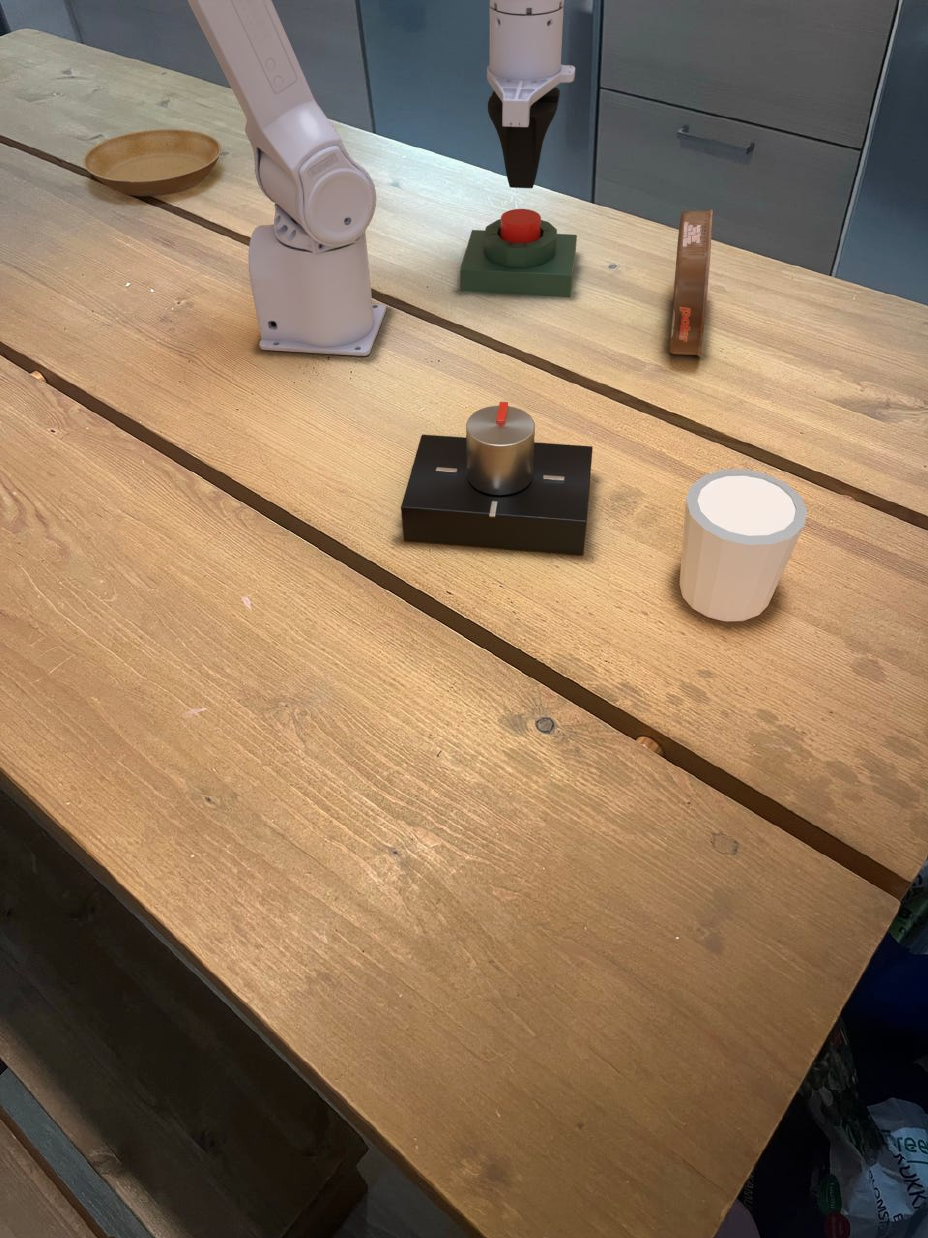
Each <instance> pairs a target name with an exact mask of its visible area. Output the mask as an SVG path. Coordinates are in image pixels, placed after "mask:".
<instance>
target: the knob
mask: <svg viewBox="0 0 928 1238" xmlns="http://www.w3.org/2000/svg"><path fill="white" fill-rule="evenodd" d="M498 403H499V404H498V405H491V406H487V407H483V408H480V409H478V410H477V411H475V412H473V413H472V414H471V415H469V417H468V419H467V420H466V424H465V437H466V452H467V478H468V480H469V482H470V484H471V485H472V486H473V487H474V488H476V489H477V490H479V491H481V492H484V493H487V494H491V495H509V494H513V493H516V492H519V491H521V490H523V489H524V488H526V487H527V486H528V485H529V483H530V482H531V480H532V477H533V460H534V442H535V439H536V438H535V435H536V424H535V420H534V418H533V417H532V416H531V415H530V413H528V412H526V411H525V410H523V409H520V408H518V407H515V406H510V405H509V401H499V402H498Z"/></svg>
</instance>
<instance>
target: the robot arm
mask: <svg viewBox="0 0 928 1238" xmlns="http://www.w3.org/2000/svg"><path fill="white" fill-rule="evenodd" d="M186 1H187V3H188V5H189V6H190V8H191V11H192V12H193V14H194V17H195V19H196V20H197V22H198V24H199V27H200V29H201V30H202V33H203V34H204V36H205V39H206V40H207V42H208V45H209V47H210V49H211V50H212V53H213V55H214V56H215V59H216V60H217V62H218V64H219V66H220V68H221V70H222V72H223V74H224V76H225V78H226V80H227V82H228V84H229V87H230V88H231V90H232V92H233V95H234V96H235V99H236V100H237V102H238V104H239V106H240V108H241V110H242V112H243V114H244V117H245V118H246V121H245V122H246V123H245V126H244V133H245V135H246V137H247V139H248V141H249V143H250V145H251V148H252V152H253V156H254V158H253V159H254V173H255V174H254V175H255V178H256V182H257V184H258V187H259V188H260V190H261V192H262V193H263V195H264V196H265V197H266V198H268V199H269V200H270V201H271V202H272V203H274V217H273V224H263V225H257V226H256V227H255V228H254V230H253V231H252V233H251V237H250V240H249V245H248V254H247V255H248V260H247V261H248V264H247V265H248V274H249V281H250V286H251V292H252V296H253V297H252V298H253V302H254V307H255V313H256V318H257V323H258V328H259V335H260V340H259V343H258V345H259V349H260V350H261V351H262V350H263V351H275V352H291V353H292V352H293V353H306V354H307V353H309V354H323V355H325V354H326V355H339V356H340V355H341V356H354V357H355V356H357V357H366V356H369V355H370V354H371V351H372V349H373V346H374V343H375V341H376V338H377V336H378V333H379V330H380V328H381V325H382V323H383V320H384V318H385V315H386V312H387V306H386V305H385V304H382V303H373V296H372V283H371V273H370V263H369V262H370V261H369V254H368V242H367V233H366V231H367V230H368V228H369V226H370V224H371V222H372V221H373V218H374V215H375V213H376V208H377V191H376V186H375V184H374V181H373V179H372V177H371V175H370V173H369V172H368V171H367V170H366V169H365V168H364V167H363V166H362V165H361V164H359V162H357V161H355V160H354V159H353V158H352V157H351V156H350V154H349V153H348V151H347V149H346V146H345V145H344V142H343V139H342V138H341V136H340V134H339V133H338V131H337V129H336V128H335V127H334V126H333V124H332V123H331V121H330V120H329V118H328V117H327V116H326V115H325V113H324V112H323V110H322V108H321V106H320V105H319V104H318V103H317V101H316V99H315V97H314V95H313V92H312V91H311V88H310V86H309V83H308V82H307V79H306V76H305V75H304V72H303V69H302V67H301V65H300V63H299V61H298V58H297V56H296V53H295V51H294V49H293V47H292V45H291V42H290V39H289V37H288V35H287V33H286V31H285V28H284V26H283V23H282V22H281V19H280V16H279V14H278V12H277V9H276V8H275V6H274V3H273V0H186ZM564 11H565V0H489V62H488V63H489V65H488V66H487V68H486V81H487V82H488V84H489V85H490V87H491V88H492V89H493V91H492V92H491V95H490V96H489V99H488V101H487V112H488V116H489V119H490V120H491V122H492V125H493V126H494V128H495V131H496V133H497V136H498V139H499V143H500V146H501V151H502V155H503V162H504V168H505V173H506V175H505V176H506V179H507V182H508V186H509V188H511V189H533V188H534V185H535V182H536V179H537V174H538V171H539V166H540V165H539V164H540V160H541V154H542V149H543V144H544V141H545V138H546V137H545V136H546V135H547V132H548V129H549V127H550V125H551V123H552V121H553V120H554V117H555V115H556V113H557V111H558V106H559V100H560V97H561V96H560V95H561V90H560V89H559V87H557V86H558V85H560V84H563V83H566V84H568V83H573V82H574V81H575V77H576V67H575V66H574V65H571V64H567V65H566V64H562V46H563V30H564V29H563V27H564Z"/></svg>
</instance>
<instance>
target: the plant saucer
mask: <svg viewBox="0 0 928 1238" xmlns="http://www.w3.org/2000/svg"><path fill="white" fill-rule="evenodd" d="M221 153H222V145H221V143H220V142H219V140H217V139H216V138H215V137H213V136H212V135H209V134H206V133H204V132H201V131H194V130H189V129H181V128H180V129H178V128H161V129H148V130H141V131H140V130H139V131H134V132H130V133H126V134H122V135H118V136H114V137H112V138H109V139H106V140H104V141H102V142H100V143H98V144H97V145H95V146H93V147H92V148H91V149H90V150H89V151H87V152H86V153H85V155H84V157H83V160H82V163H83V164H82V165H83V167H84V169H85V170H86V171H87V172H88V173H90V175H92V176H93V178H95V179H96V180H98V181H99V182H100V183H102V184H103V185H104V186H107V187H108V188H109V189H111V190H113V191H115V192H117V193H119V194H123V195H126V196H132V197H133V196H134V197H161V196H168V195H173V194H177V193H180V192H184V191H187V190H189V189H191V188H193V187H196V186H197V185H199V184H200V183H201V182H203V181H204V180H205V179H206V178H207V177H208V175H209V174H210V173H211V172H212V170H213V169H214V167H215V165H216V164H217V162H218V161H219V158H220V155H221Z"/></svg>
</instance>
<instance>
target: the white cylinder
mask: <svg viewBox="0 0 928 1238" xmlns="http://www.w3.org/2000/svg"><path fill="white" fill-rule="evenodd" d="M807 515H808V509H807V507H806V504H805V502H804V500H803V497H802V495H800V494H799V492H798V491H796V490H795V489H794V488H793V487H792V486H791V485H790V484H789V483H787V482H786V481H784V480H782V479H779V478H777V477H775V476H774V475H770V474H768V473H767V472H761V471H757V470H751V469H747V468H735V469H734V468H733V469H730V468H729V469H720V470H717V471H714V472H710V473H708V474H704V475H702V476H701V477H700V478H699V479H698V480H696V481H695V482H694V483H693V484H691V485H690V486H689V490H688V492H687V495H686V499H685V509H684V521H683V535H682V544H681V545H682V546H681V547H682V548H681V560H680V572H679V588H680V592H681V595H682V599H684V600H685V601H686V603H687V604H688V605H689V606H690V608H691V609H693V610H695V611H696V612H698V613H699V614H702V615H703V616H705V617H707V618H709V619H714V620H718V621H722V622H744V621H747V620H750V619H752V618H755V617H758V616H759V615H761V614H762V613H763V612H764V610H765V609H766V608H768V606H769V604H770V602H771V601H772V600H771V599H772V597H773V595H774V593H775V592H776V589H777V587H778V585H779V582H780V580H781V579H782V576H783V573H784V571H785V569H786V567H787V565H788V563H789V561H790V558H791V556H792V555H793V551H794V549H795V547H796V545H797V543H798V541H799V538H800V536H801V534H802V532H803V530H804V528H805V525H806V519H807Z"/></svg>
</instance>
